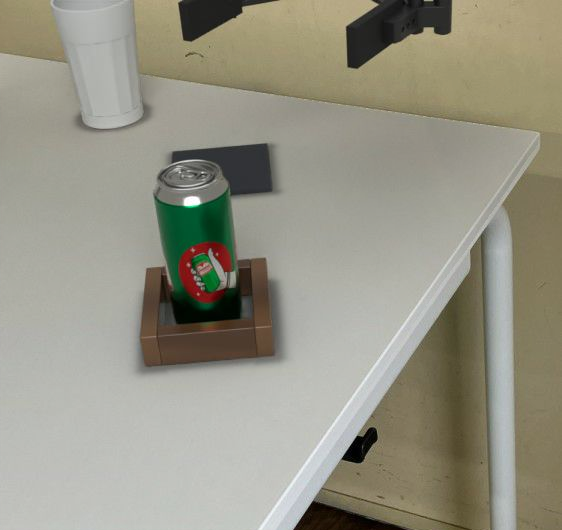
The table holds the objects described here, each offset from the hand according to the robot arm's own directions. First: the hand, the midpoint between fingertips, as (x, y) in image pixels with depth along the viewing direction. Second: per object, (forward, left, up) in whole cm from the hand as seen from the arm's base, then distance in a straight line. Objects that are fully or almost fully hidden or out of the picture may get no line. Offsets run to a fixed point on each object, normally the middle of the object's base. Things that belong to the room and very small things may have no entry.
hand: (263, 34), depth 68 cm
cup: (-31, -16, -18) cm, 39 cm away
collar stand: (+8, -6, -18) cm, 20 cm away
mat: (-16, -5, -18) cm, 25 cm away
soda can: (+8, -6, -18) cm, 21 cm away
